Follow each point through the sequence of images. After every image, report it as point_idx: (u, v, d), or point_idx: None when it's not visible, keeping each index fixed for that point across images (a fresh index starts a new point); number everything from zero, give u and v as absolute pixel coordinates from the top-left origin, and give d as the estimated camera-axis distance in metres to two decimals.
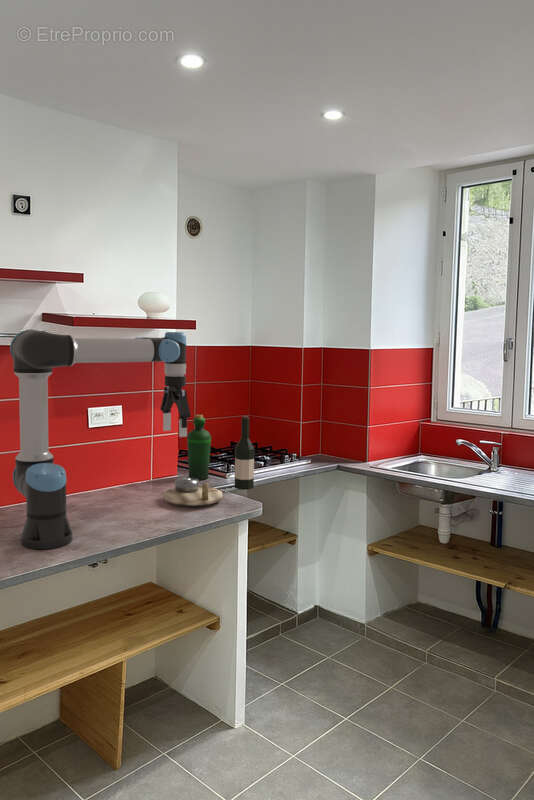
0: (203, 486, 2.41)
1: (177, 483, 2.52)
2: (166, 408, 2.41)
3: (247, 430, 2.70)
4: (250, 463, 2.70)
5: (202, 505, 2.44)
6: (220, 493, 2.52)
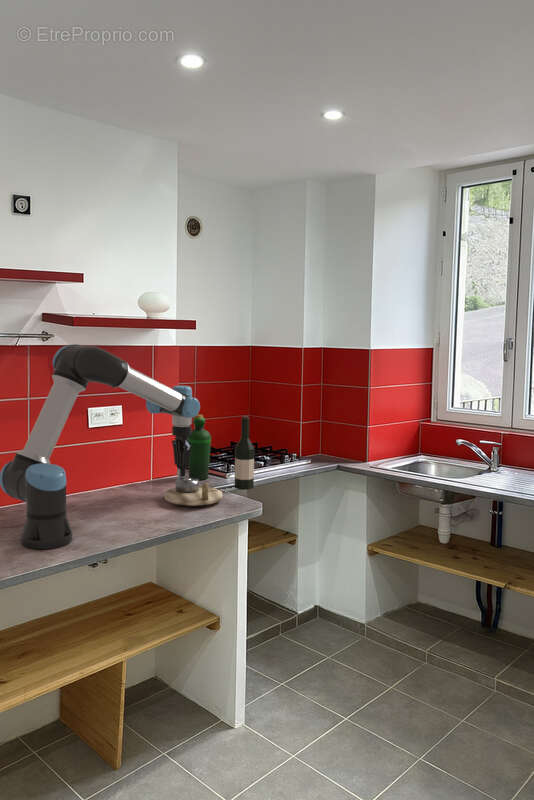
0: (203, 486, 2.41)
1: (177, 483, 2.52)
2: (179, 460, 2.58)
3: (247, 430, 2.70)
4: (250, 463, 2.70)
5: (202, 505, 2.44)
6: (220, 493, 2.52)
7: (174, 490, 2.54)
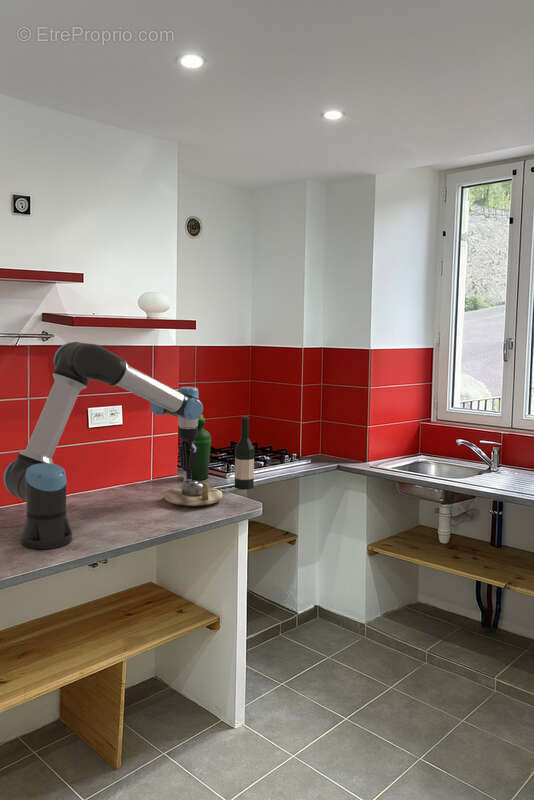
0: (203, 486, 2.41)
1: (184, 486, 2.47)
2: (185, 463, 2.54)
3: (247, 430, 2.70)
4: (250, 463, 2.70)
5: (202, 505, 2.44)
6: (220, 493, 2.52)
7: (174, 490, 2.54)
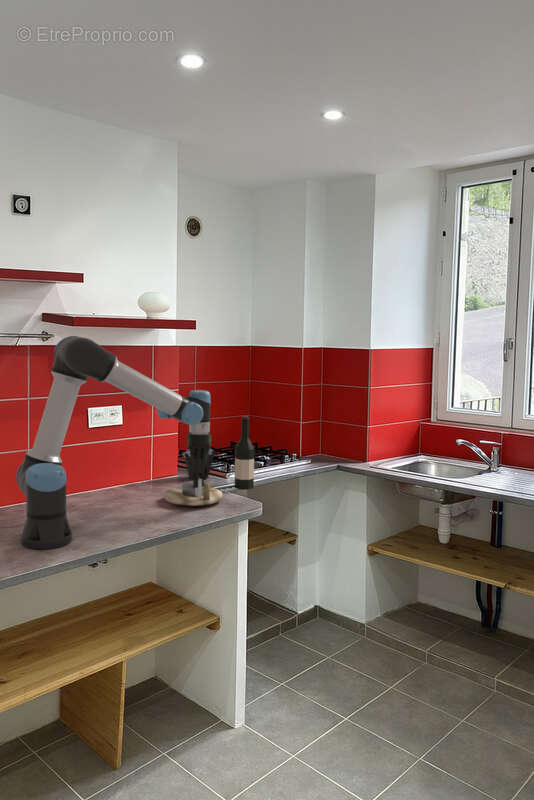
0: (204, 486, 2.42)
1: (185, 487, 2.47)
2: (199, 470, 2.41)
3: (247, 430, 2.70)
4: (250, 463, 2.70)
5: (202, 505, 2.44)
6: (220, 493, 2.52)
7: (173, 490, 2.54)
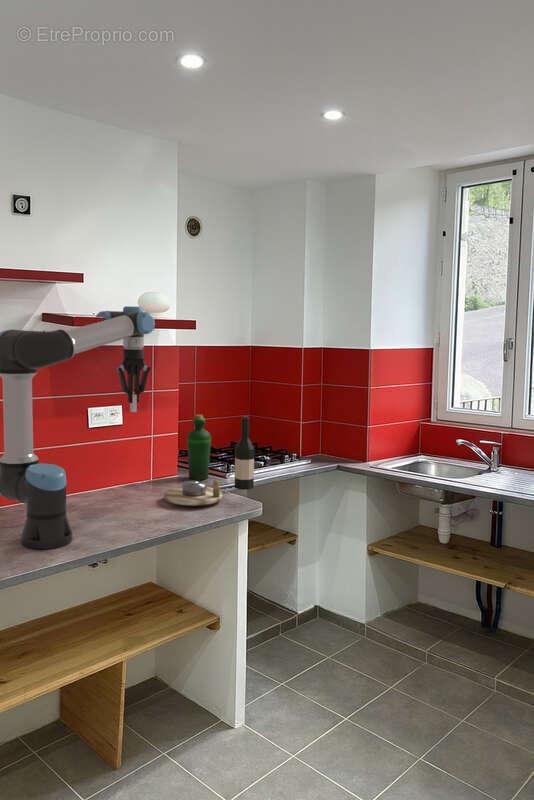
0: (216, 483, 2.46)
1: (190, 488, 2.46)
2: (134, 386, 2.45)
3: (247, 430, 2.70)
4: (250, 463, 2.70)
5: (202, 505, 2.44)
6: None
7: (170, 494, 2.49)
